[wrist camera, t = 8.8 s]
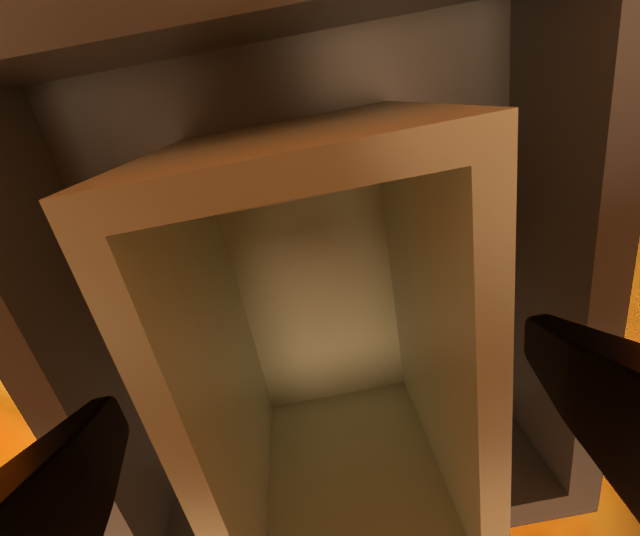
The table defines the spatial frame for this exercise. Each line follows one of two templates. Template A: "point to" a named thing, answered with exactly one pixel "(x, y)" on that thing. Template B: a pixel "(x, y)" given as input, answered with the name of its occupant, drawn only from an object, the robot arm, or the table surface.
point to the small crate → (316, 317)
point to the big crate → (301, 101)
